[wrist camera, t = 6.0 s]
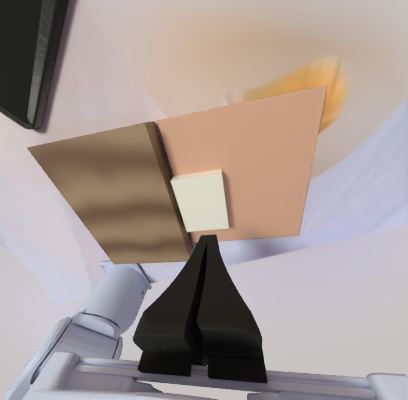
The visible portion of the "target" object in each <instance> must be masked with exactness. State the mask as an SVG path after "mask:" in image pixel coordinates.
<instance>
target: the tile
mask: <svg viewBox="0 0 408 400" xmlns="http://www.w3.org/2000/svg"><path fill="white" fill-rule="evenodd" d="M171 184H172V187H173V190H174V193H175V197H176V200H177V203H178V206H179V209H180V212H181V215H182V218H183V221H184V224H185V227H186V231H187V232H193V231H205V230H217V229H229V223H228V215H227V207H226V199H225V192H224V184H223V177H222V169H219V170H212V171H205V172H199V173H192V174H186V175H179V176H174V177H173V178H172V180H171Z"/></svg>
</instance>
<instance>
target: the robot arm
mask: <svg viewBox="0 0 408 400" xmlns="http://www.w3.org/2000/svg"><path fill="white" fill-rule="evenodd" d="M99 265H100V266H101V267H102V268H103V270H104V271H105V273H104V275H103V276H102V277H101V279H100V280H99V282H98V283H97V285H96V286H95V287H94V289H93V290H92V292H91V293H90V294H89V296H88V297H87V299H86V300H85V301H84V303H83V304H82V306H81V307H80V309H79V310H78V311H77V313H76V314H75V315H74V316H73V317H72V318H71V317H67V318H65V319H62V320H60V321H59V323H58V324H57V325H56V326H55V327H54V328H53V330H52V331H51V332H50V334H49V335H48V336H47V337H46V339H45V340H44V341H43V343H42V344H41V345H40V346H39V348H38V349H37V350H36V352H35V353H34V354H33V356H32V357H31V358H30V360H29V361H28V362H27V364H26V365H25V366H24V368H23V369H22V371H21V372H20V374H19V376H18V377H17V379H16V380H15V381H14V383H13V384H12V385H11V387H10V388H9V389H8V391H7V392H6V394H5V396H4V400H216V399H210V398H204V397H197V396H188V395H180V394H170V393H163V392H162V391H159V390H157V389H155V388H154V387H152V385H151V384H147V383H143V382H138V381H137V380H139V381H149V382H160V383H170V384H180V385H192V386H201V387H211V388H221V389H232V390H242V391H252V392H263V393H249V394H248V395H247V399H248V400H408V376H406V375H405V374H390V373H371V374H369V375H367V377H366V378H362V377H349V376H335V375H321V374H308V373H295V372H294V373H293V372H281V371H280V372H279V371H267V370H266V369H265V364H264V356H263V351H262V336H261V333H260V330H259V328H258V326H257V324H256V322H255V319H254V317H253V315H252V313H251V311H250V310H249V308H248V307H247V305H246V304H245V302H244V301H243V299H242V297H241V296H240V294H239V292H238V291H237V289H236V287H235V285H234V283H233V282H232V280H231V278H230V276H229V274H228V272H227V269H226V267H225V265H224V262H223V260H222V257H221V254H220V251H219V245H218V240H217V235H216V234H212V235H201V236H200V238H199V241H198V243H197V245H196V247H195V249H194V251H193V253H192V254H191V256H190V258H189V260H188V261H187V263H186V264H185V266H184V267H183V269H182V270H181V272H180V273H179V274H178V276H177V277H176V278H175V280H174V281H173V282H172V283H171V284H170V286H169V287H168V288H167V289H166V290H165V291H164V292H163V293H162V294H161V296H160V297H159V298H158V299H157V300H156V301H155V302H154V303H152V304H151V305H150V306H149V307H148V308H147V309H146V310H145V311H144V312H143V315H142V317H141V319H140V321H139V323H138V326H137V328H136V331H135V334H134V337H133V341H134V343H135V344H136V345H137V346H138V347H139V348H140V349H141V350H143V353H142V356H141V359H140V361H131V360H119V358H120V355H121V352H122V347H123V344H122V337H121V336H120V334H122V333H124V332H125V331H127V330H128V329H129V327H130V326H131V325H132V324H133V322H134V320H135V318H136V316H137V314H138V311H139V309H140V306H141V304H142V301H143V299H144V296H145V294H146V291H147V289H151V287H152V286H151V285H150V283H149V282H148V280H147V278H146V277H145V275H144V274H143V272H142V270H141V269H140V267H139V265H138V264H115V265H114V264H113V262H112V261H111V262H101V263H100V264H99ZM207 365H208V366H207ZM30 384H32V386H31V388H30ZM277 394H278V395H277Z"/></svg>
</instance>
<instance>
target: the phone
mask: <svg viewBox="0 0 408 400" xmlns="http://www.w3.org/2000/svg"><path fill="white" fill-rule="evenodd" d="M67 5H68V0H0V112H1V113H3V114H4V115H5V116H7V117H8V118H10V119H11V120H13V121H14V122H16V123H17V124H19V125H20V126H22V127H24V128H26V129H39V128H40V127H41V125H42V121H43V117H44V112H45V107H46V103H47V98H48V93H49V89H50V84H51V79H52V75H53V70H54V65H55V61H56V56H57V51H58V47H59V42H60V37H61V33H62V28H63V23H64V19H65V14H66V9H67Z"/></svg>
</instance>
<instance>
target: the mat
mask: <svg viewBox="0 0 408 400" xmlns="http://www.w3.org/2000/svg"><path fill="white" fill-rule="evenodd" d="M326 90H327V85H324V86H320V87H315V88H310V89H305V90H301V91H296V92H291V93H286V94H282V95H277V96H272V97H267V98H263V99H258V100H253V101H248V102H244V103H239V104H234V105H229V106H225V107H220V108H215V109H211V110H206V111H201V112H196V113H192V114H187V115H182V116H178V117H173V118H168V119H163V120H158V121H157V122H158V126H159V129H160V132H161V136H162V139H163V143H164V146H165V149H166V153H167V156H168V159H169V163H170V166H171V169H172V173H173V176H179V175H186V174H192V173H199V172H205V171H212V170H219V169H222V177H223V184H224V192H225V199H226V207H227V215H228V223H229V229H217V230H205V231H193V232H190V233H191V237H192V240H193V243H197V242H198V241H199V238H200V236H201V235H212V234H216V235H217V240H218V241H228V240H243V239H259V238H274V237H290V236H298V235H299V230H300V225H301V220H302V215H303V209H304V204H305V199H306V194H307V189H308V183H309V178H310V173H311V168H312V163H313V157H314V152H315V147H316V142H317V137H318V131H319V126H320V121H321V116H322V111H323V105H324V100H325V95H326Z"/></svg>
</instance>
